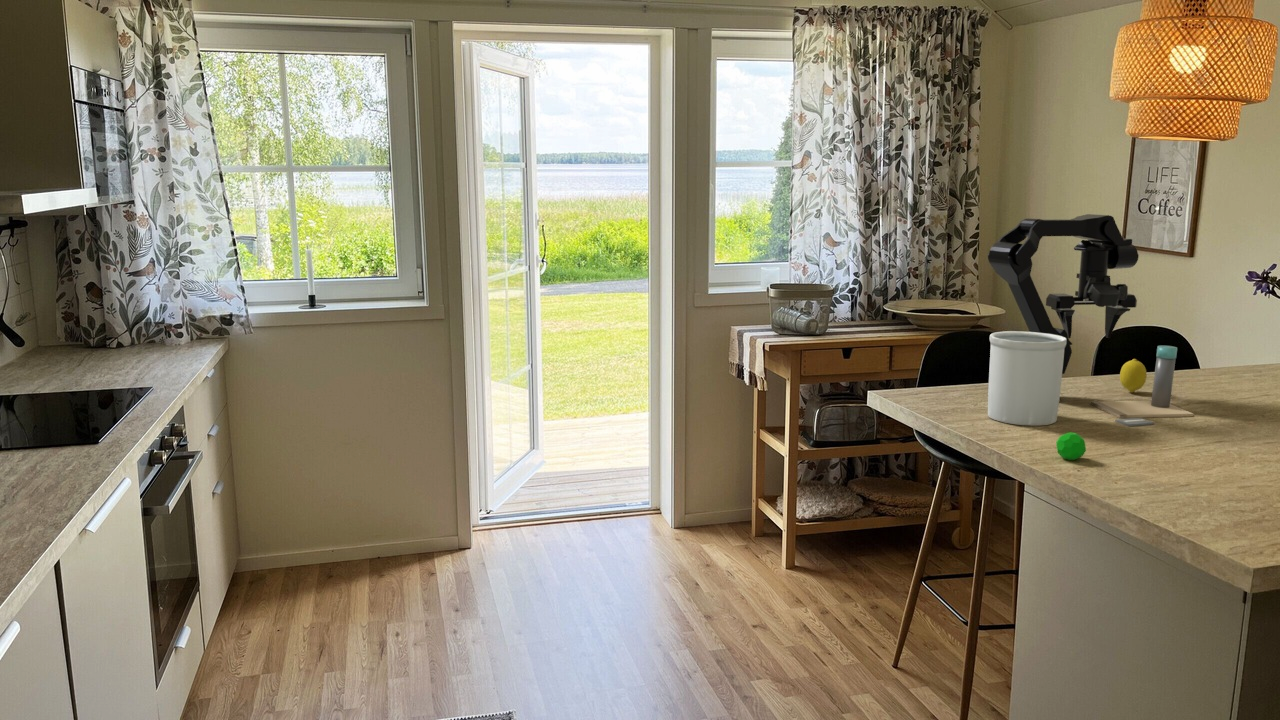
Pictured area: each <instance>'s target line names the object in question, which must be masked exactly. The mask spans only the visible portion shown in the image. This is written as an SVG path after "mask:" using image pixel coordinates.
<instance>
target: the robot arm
mask: <svg viewBox="0 0 1280 720" xmlns="http://www.w3.org/2000/svg"><path fill="white" fill-rule="evenodd" d="M1043 237H1075V238H1078V239H1081V241H1080V242H1079V243H1077V244H1076V245H1075V246H1073V250H1074V251H1078V252H1079V251H1080V253H1081V254H1080V261H1079V262H1080V263H1079V265H1080V267H1079V272H1078V273H1076V278H1077V279H1078V289H1077V290H1075V292H1074V295H1075V296H1074V295H1070V294H1067V293H1049V294H1048V295H1047V297H1046V299H1045V306H1047V307H1050V308H1051V310H1053V311H1055V314H1057V316H1058V317H1057V318H1058V319H1059V321H1060V324H1061V326H1062V328H1059V327H1054V326H1053V324H1052V322H1051V320H1050V317H1049V315H1048V313H1047V310H1046V307H1045V306H1044V303H1043V301H1042V299H1041V297H1040V294H1039V292H1038V289H1037V287H1036V285H1035V283H1034V280H1033V278H1032V276H1031V273H1032V267H1033V261H1032V258H1033V256H1034V255H1035V254H1036V252H1037V251H1038V249H1039V246H1040V240H1041V239H1043ZM1026 238H1027V239H1026ZM1023 241H1024V242H1023ZM1021 242H1023V243H1021ZM1139 255H1140V254H1139V253H1138V249H1137V247H1136V246H1135V245H1134V244H1133V239H1132V238H1123V235H1122V234H1121V232H1120V229H1119V228H1118V225H1117V223H1116V221H1115V218H1114V216H1113V215H1108V214H1107V215H1106V214H1091V213H1088V214H1082V215H1079V216H1076V217H1074V218H1070V219H1069V218H1068V219H1065V218H1063V219H1060V218H1059V219H1058V218H1057V219H1056V218H1055V219H1047V218H1044V219H1043V218H1042V219H1041V218H1032V217H1031V218H1030V217H1027V218H1024V219H1022V220H1021V221H1020V222H1018V224H1017V225H1016V226H1015V227H1014V228H1012V229H1010V230H1009V231H1008V232H1006V233H1005V234H1004V235H1002V236H1001V237H1000V238H999V239H998V241H996V242H995V243H994V244H993V245H992V246H991V247H990V249H989V253H987V259H988V262H989V264H990V266H991V267H992V269H993V270H994V272H995V273H996V274H997V275H998V276H999V277H1001V278H1002V280H1004V281H1005V282H1006V283H1007V284H1008V287H1009V288H1010V290H1011V293H1012V296H1013V297H1014V300H1015V301H1016V304H1017V306H1018V309H1019V311H1020V314H1021V315H1022V318H1023V320H1024V322H1025V324H1026V326H1027V327H1026V328H1027V329H1028V330H1029V331H1028V332H1037V333H1046V334H1053V335H1058V336H1062V337H1065V338H1066V339H1067V343H1066V346H1065V348H1064V360H1063V370H1062V375H1063V374H1065V373H1066V371H1067V368H1068V365H1069V362H1070V359H1071V356H1072V354H1073V352H1072V347H1071V346H1072V345H1073V342H1071V340H1070V339H1071V338H1072V330H1073V329H1072V327H1073V324H1072V323H1073V316H1074V314H1075V312H1076V310H1075V309H1072V308H1073V307H1074V306H1075V305H1076V306H1079V305H1080V306H1083V305H1088V306H1089V305H1095V306H1097V307H1100V308H1104V307H1105V310H1104V311H1105V314H1104V315H1105V316H1104V335H1105V338H1108V339H1109V338H1110V337H1111V335H1112V333H1113V331H1114V330H1115V327H1116V325H1117V323H1118V321H1119V320H1120V318H1121V317H1122V316H1123V315H1124V314H1125V313H1126V312H1130V311H1131V308H1137V305H1138V304H1137V302H1138V299H1137V297H1136V295H1134V294H1132V293H1128V292H1129V291H1128V289H1129V288H1128V285H1127V284H1126V283H1117V284H1114V285H1113V284H1111V276H1110V275H1108V270H1116V269H1117V270H1119V269H1131V268H1133V267H1134V266H1135V265H1136V264H1137V262H1138V261H1139V257H1140V256H1139ZM1061 400H1062V398H1061V397H1060V399H1059V401H1061Z"/></svg>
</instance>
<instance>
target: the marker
mask: <svg viewBox="0 0 1280 720" xmlns="http://www.w3.org/2000/svg"><path fill="white" fill-rule="evenodd" d="M1177 353H1178V347H1177V346H1172V345H1165V344H1164V345H1161V344H1160V345H1157V348H1156V361H1155V367H1154V377H1153V385H1152V393H1151V400H1152V401H1151V405H1152V406H1154V407H1160V408H1169V407H1170V404H1171V398H1172V391H1173V383H1174V375H1175V374H1174V373H1175V366H1176V365H1175V364H1176V359H1177Z"/></svg>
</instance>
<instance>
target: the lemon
mask: <svg viewBox="0 0 1280 720" xmlns="http://www.w3.org/2000/svg"><path fill="white" fill-rule="evenodd" d="M1147 377H1148V376H1147V369H1146V367H1145V365H1144V364H1143V363H1142V362H1141V361H1139V360H1138V359H1136V358H1133V359H1132V360H1128V361H1126V362H1125V363H1124V364H1123V365H1122V366H1121V369H1120V372H1119V381H1120V384H1121V386H1123V388H1125V389H1126V390H1128V393H1132V394H1133V393H1134V392H1135V391H1138V390H1140V389H1142V388H1143V387H1144V386H1145V383H1146V382H1147V381H1146V380H1147Z"/></svg>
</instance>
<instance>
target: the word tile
mask: <svg viewBox="0 0 1280 720" xmlns="http://www.w3.org/2000/svg"><path fill="white" fill-rule="evenodd" d="M1114 422H1115V423H1118V424H1120V425H1124V426H1127V427H1135V426H1148V425H1149V426H1150V425H1151V426H1152V425H1154V424H1155V422H1154V421H1151V420H1148V419H1145V418H1144V417H1143V418H1116V419H1114Z"/></svg>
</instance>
